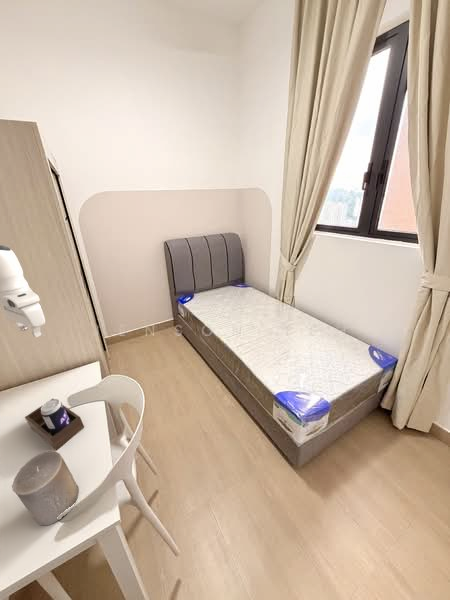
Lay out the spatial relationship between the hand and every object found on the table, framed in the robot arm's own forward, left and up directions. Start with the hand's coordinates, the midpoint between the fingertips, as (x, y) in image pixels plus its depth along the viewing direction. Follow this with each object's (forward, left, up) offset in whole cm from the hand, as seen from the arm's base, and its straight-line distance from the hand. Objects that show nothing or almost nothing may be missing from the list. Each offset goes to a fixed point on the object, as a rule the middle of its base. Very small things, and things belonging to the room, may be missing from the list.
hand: (30, 333), depth 82 cm
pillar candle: (+37, -20, -31) cm, 52 cm away
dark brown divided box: (+13, -8, -31) cm, 34 cm away
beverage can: (+17, -8, -30) cm, 35 cm away
